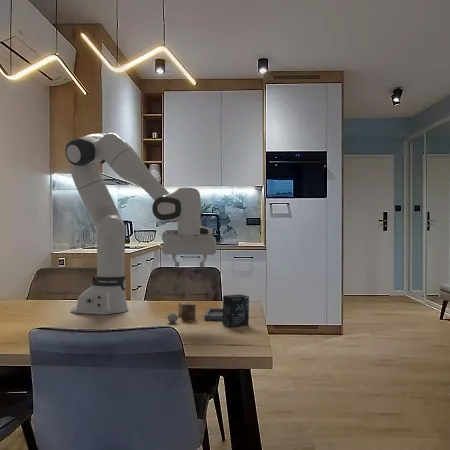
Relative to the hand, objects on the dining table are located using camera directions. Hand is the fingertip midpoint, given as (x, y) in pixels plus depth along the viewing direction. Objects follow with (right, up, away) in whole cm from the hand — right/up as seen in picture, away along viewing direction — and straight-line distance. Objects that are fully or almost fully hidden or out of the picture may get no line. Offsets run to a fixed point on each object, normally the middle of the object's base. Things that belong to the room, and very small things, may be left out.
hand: (189, 266), depth 195 cm
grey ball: (-6, -20, -7) cm, 22 cm away
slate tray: (+13, -20, +6) cm, 25 cm away
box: (+17, -20, -9) cm, 28 cm away
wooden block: (-3, -20, +8) cm, 22 cm away
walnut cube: (0, -20, 0) cm, 20 cm away
